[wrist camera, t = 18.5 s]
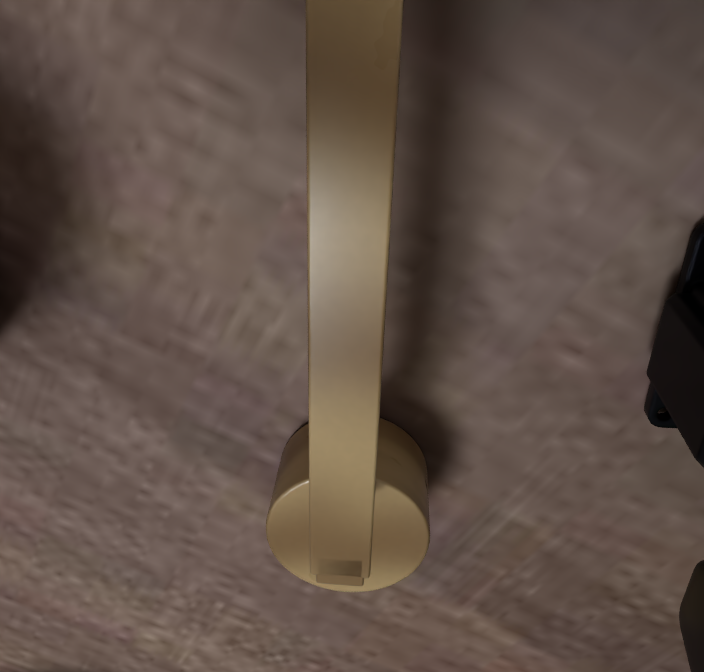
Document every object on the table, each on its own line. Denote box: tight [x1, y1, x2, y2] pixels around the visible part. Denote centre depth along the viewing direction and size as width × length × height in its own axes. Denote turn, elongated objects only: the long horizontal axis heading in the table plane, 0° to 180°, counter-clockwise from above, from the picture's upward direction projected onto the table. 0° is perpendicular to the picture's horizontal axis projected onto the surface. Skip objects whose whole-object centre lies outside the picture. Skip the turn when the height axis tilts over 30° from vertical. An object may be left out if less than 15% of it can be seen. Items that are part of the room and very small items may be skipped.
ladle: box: [266, 0, 430, 592], centre depth 17 cm, size 18×5×6 cm, turn 178°
